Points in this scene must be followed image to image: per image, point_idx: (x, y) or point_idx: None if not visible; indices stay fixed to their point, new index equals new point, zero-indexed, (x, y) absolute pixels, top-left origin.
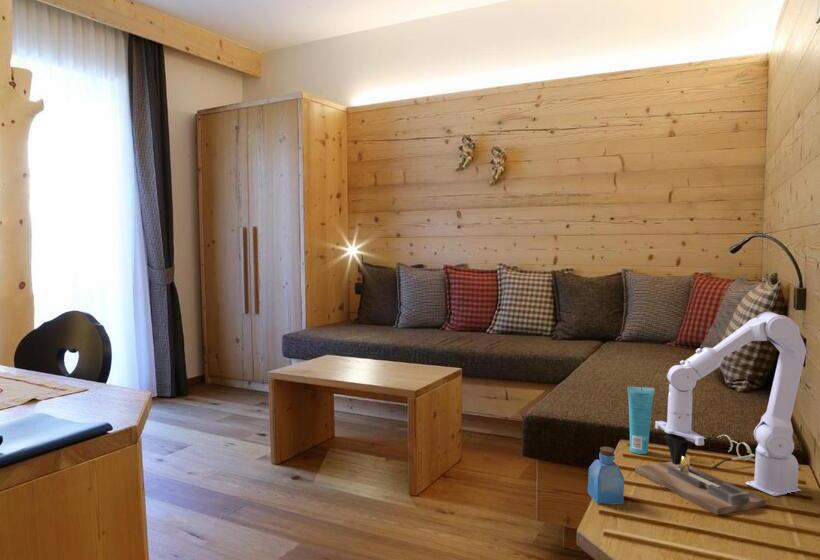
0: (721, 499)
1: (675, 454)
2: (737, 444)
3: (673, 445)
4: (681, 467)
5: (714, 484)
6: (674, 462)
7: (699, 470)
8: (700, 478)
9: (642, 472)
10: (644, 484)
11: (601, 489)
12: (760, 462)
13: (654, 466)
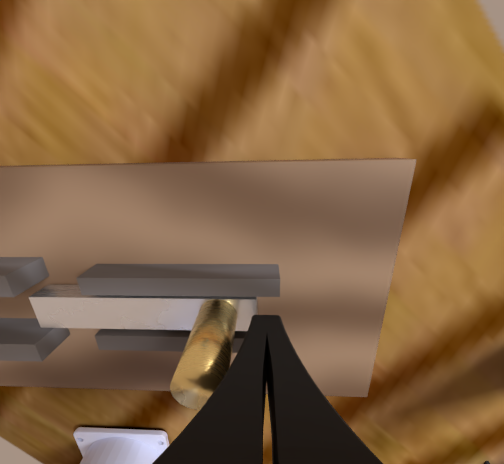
0: None
1: (242, 358)
2: None
3: (243, 427)
4: (212, 313)
5: (58, 320)
6: (262, 320)
7: None
8: (128, 317)
9: (350, 159)
10: (252, 84)
11: None
12: None
13: (365, 261)
